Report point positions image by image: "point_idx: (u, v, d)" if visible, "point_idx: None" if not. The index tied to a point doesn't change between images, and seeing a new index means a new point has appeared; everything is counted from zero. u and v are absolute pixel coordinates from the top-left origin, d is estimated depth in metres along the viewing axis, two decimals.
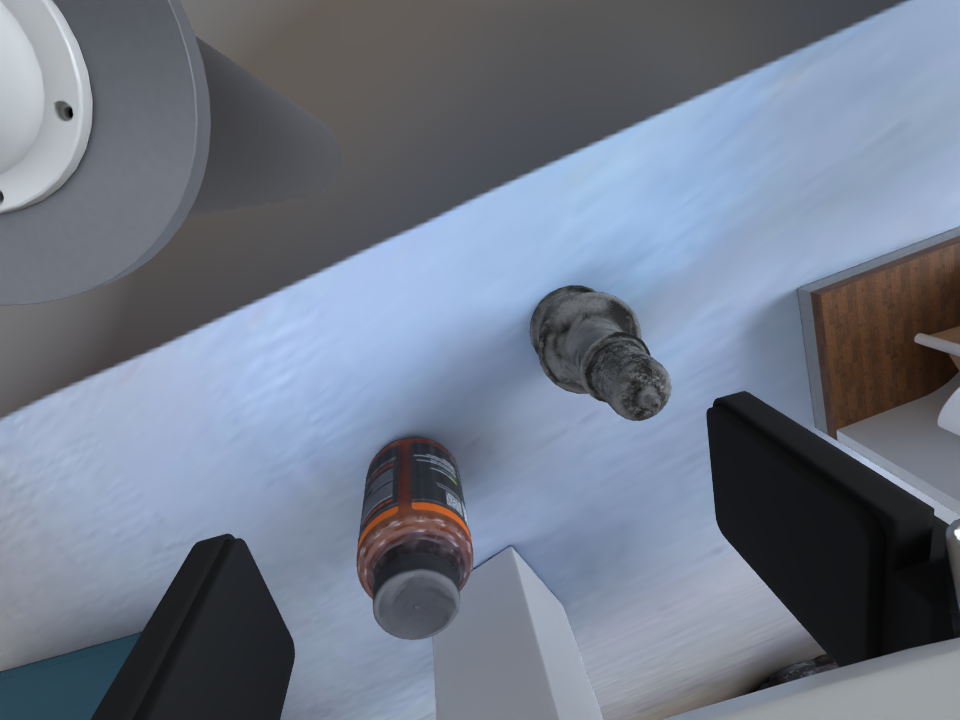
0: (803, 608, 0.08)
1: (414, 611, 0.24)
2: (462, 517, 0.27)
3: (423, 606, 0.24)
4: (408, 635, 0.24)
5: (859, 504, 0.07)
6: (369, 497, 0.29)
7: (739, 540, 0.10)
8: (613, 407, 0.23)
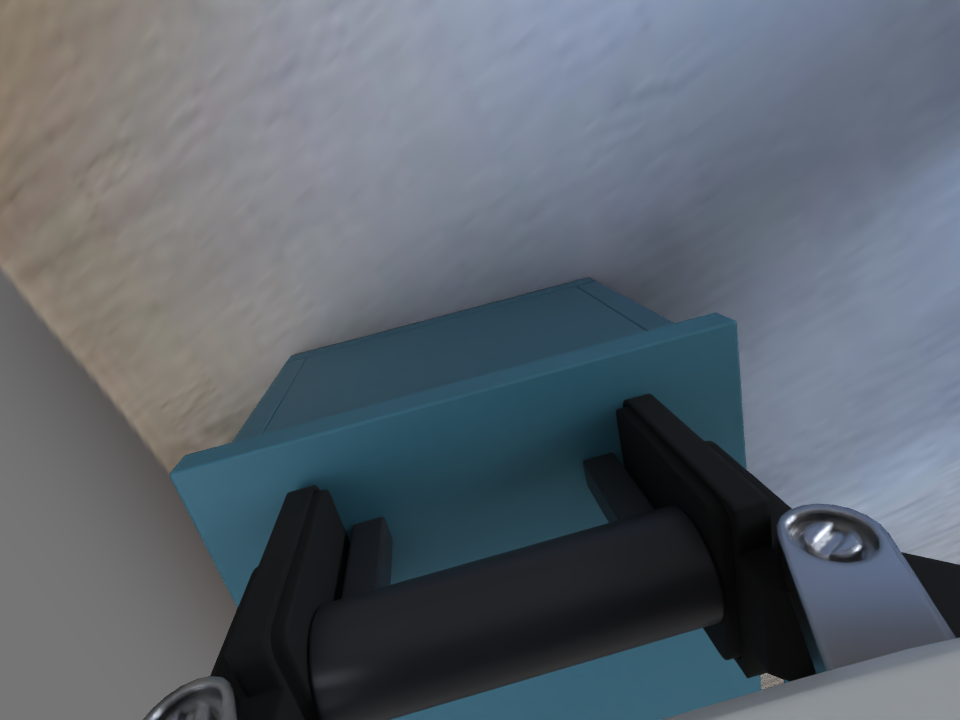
0: None
1: None
2: None
3: None
4: None
5: (712, 495, 0.07)
6: None
7: None
8: None
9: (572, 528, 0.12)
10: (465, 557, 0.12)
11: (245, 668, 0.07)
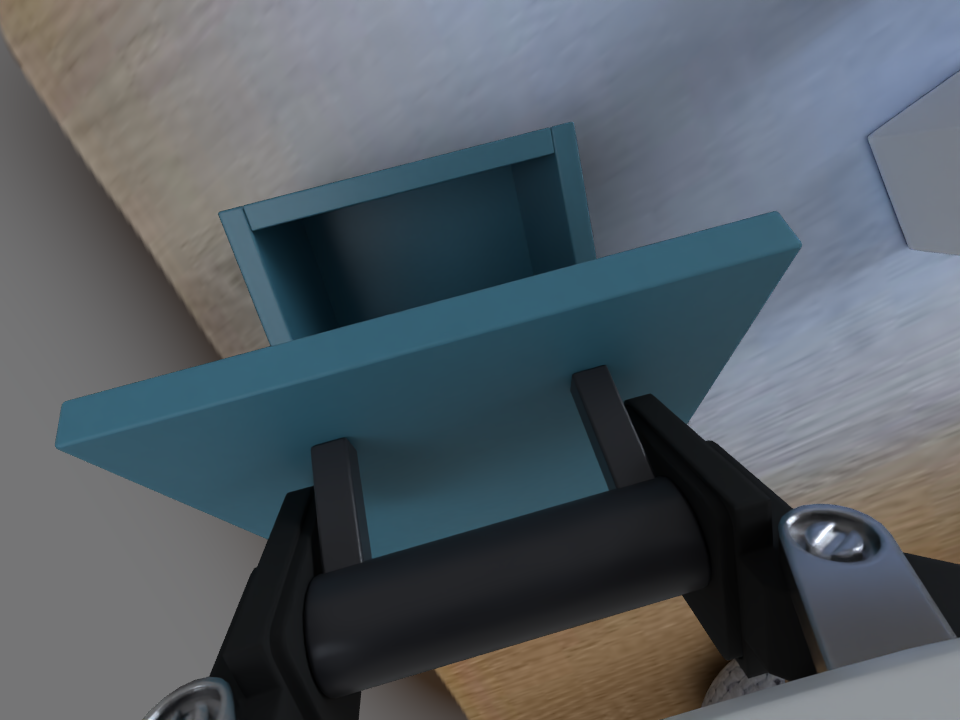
0: None
1: None
2: None
3: None
4: None
5: (713, 495, 0.07)
6: None
7: None
8: None
9: (544, 415, 0.11)
10: (432, 446, 0.11)
11: (244, 669, 0.07)
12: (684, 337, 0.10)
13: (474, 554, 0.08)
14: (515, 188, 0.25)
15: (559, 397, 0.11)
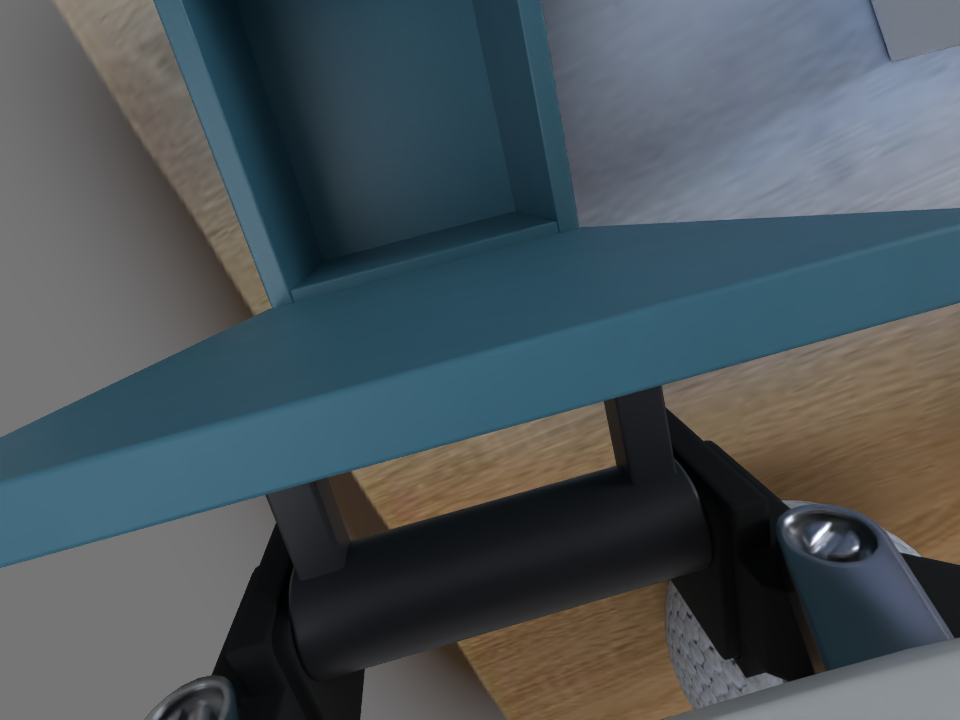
0: (687, 592, 0.09)
1: None
2: None
3: None
4: None
5: (711, 495, 0.07)
6: None
7: None
8: None
9: None
10: None
11: (246, 667, 0.07)
12: None
13: (478, 580, 0.07)
14: None
15: None
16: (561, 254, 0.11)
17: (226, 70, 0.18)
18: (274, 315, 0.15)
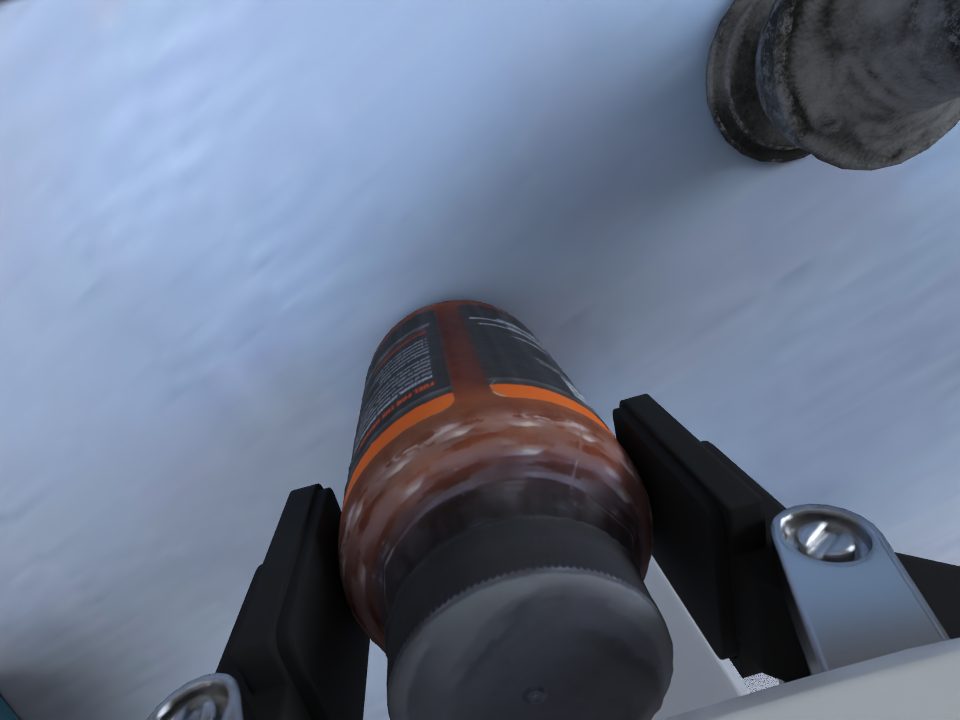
0: (684, 592, 0.09)
1: (527, 711, 0.07)
2: None
3: (558, 691, 0.07)
4: None
5: (707, 495, 0.07)
6: (373, 396, 0.12)
7: None
8: None
9: None
10: None
11: (250, 665, 0.07)
12: None
13: None
14: None
15: None
16: None
17: None
18: None
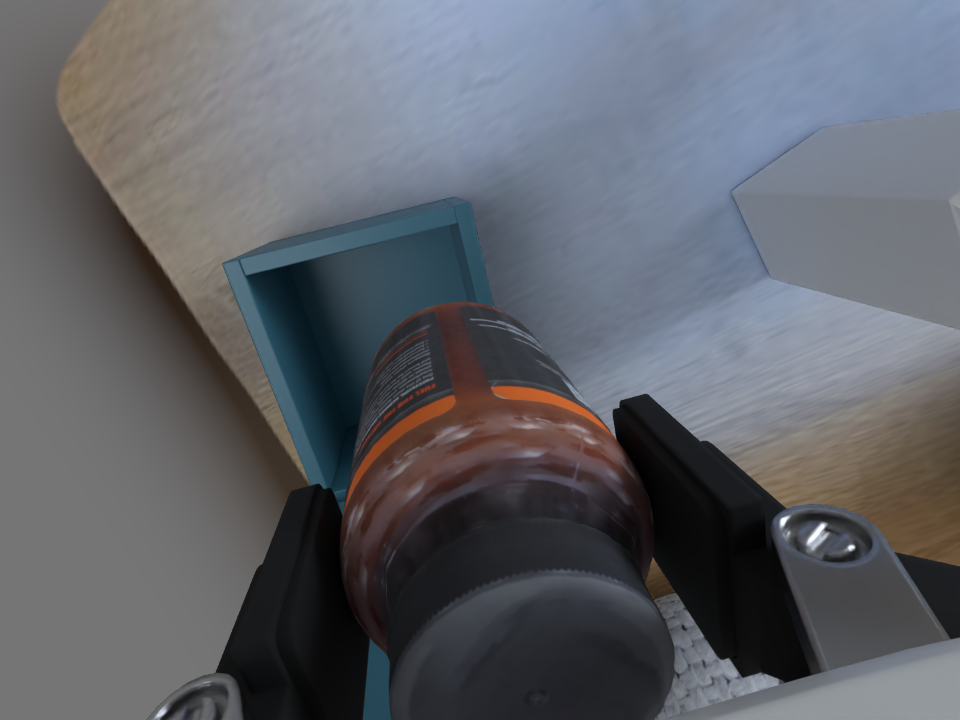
0: (684, 592, 0.09)
1: (529, 713, 0.07)
2: None
3: (560, 694, 0.07)
4: None
5: (707, 495, 0.07)
6: (374, 398, 0.12)
7: None
8: None
9: None
10: None
11: (251, 665, 0.07)
12: None
13: None
14: (450, 231, 0.32)
15: None
16: None
17: (289, 349, 0.27)
18: None
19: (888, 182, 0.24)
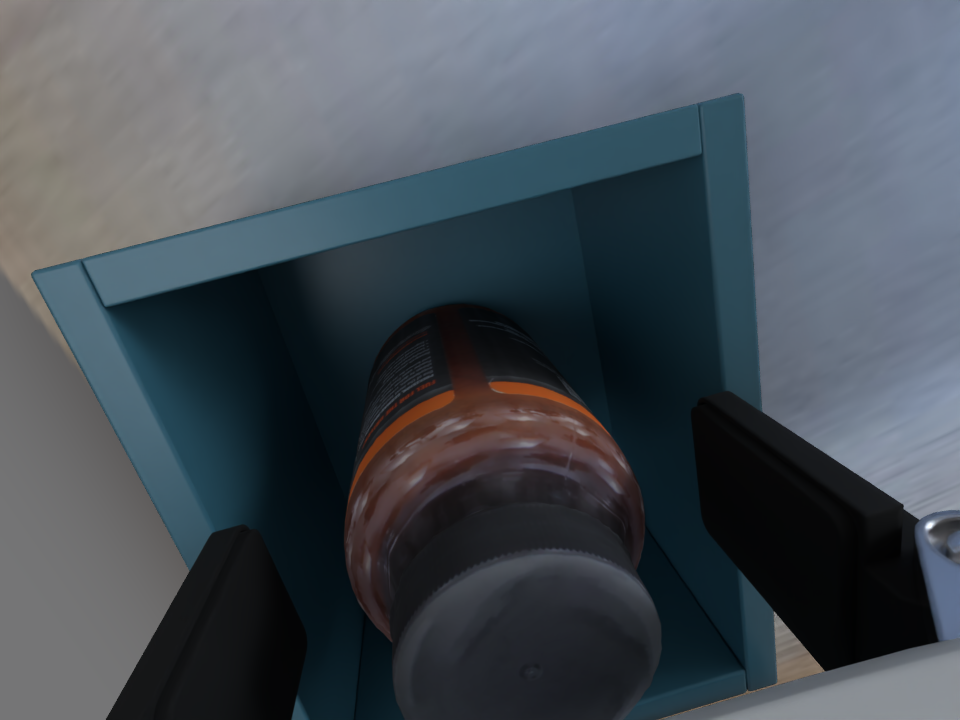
0: (782, 603, 0.08)
1: (524, 686, 0.07)
2: None
3: (554, 668, 0.07)
4: None
5: (832, 501, 0.07)
6: (376, 395, 0.12)
7: (723, 537, 0.10)
8: None
9: None
10: None
11: None
12: None
13: None
14: (573, 204, 0.16)
15: None
16: None
17: (251, 469, 0.12)
18: None
19: None
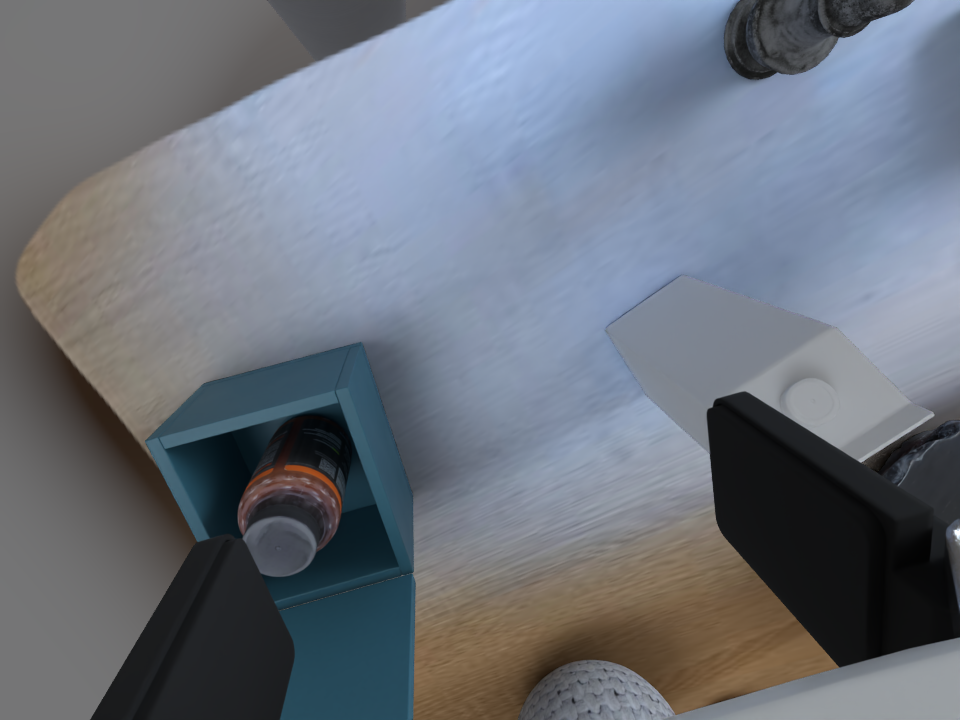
0: (803, 608, 0.08)
1: (276, 552, 0.28)
2: (333, 479, 0.32)
3: (284, 547, 0.28)
4: (273, 573, 0.29)
5: (859, 504, 0.07)
6: None
7: (739, 540, 0.10)
8: None
9: None
10: None
11: None
12: None
13: None
14: None
15: None
16: (353, 687, 0.26)
17: (211, 491, 0.33)
18: None
19: (688, 370, 0.29)
